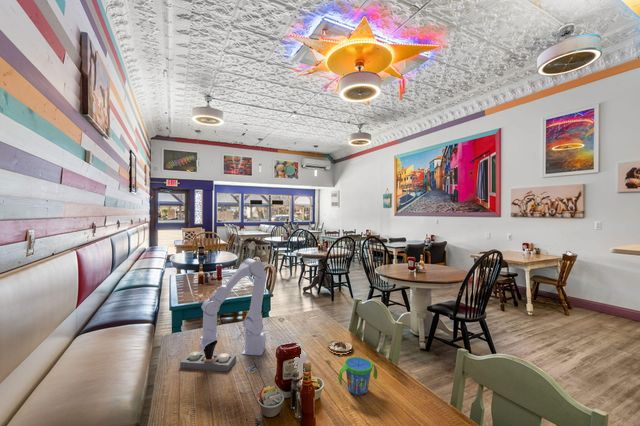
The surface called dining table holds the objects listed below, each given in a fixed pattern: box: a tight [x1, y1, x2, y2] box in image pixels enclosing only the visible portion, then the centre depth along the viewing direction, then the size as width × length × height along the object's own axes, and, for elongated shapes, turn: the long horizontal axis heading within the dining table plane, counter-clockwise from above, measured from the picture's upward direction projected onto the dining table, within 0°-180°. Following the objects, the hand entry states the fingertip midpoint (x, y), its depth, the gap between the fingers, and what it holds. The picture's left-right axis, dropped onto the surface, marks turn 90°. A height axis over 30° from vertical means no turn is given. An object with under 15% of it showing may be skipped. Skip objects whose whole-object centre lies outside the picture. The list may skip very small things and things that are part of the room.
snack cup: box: [337, 356, 378, 396], centre depth 111 cm, size 16×10×10 cm
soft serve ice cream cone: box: [293, 343, 308, 377], centre depth 113 cm, size 8×8×16 cm
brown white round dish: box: [327, 340, 354, 353], centre depth 144 cm, size 15×15×4 cm
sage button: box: [188, 351, 201, 361], centre depth 128 cm, size 4×4×2 cm
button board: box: [179, 351, 237, 372], centre depth 127 cm, size 21×9×2 cm, turn 85°
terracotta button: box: [204, 356, 214, 362], centre depth 127 cm, size 4×4×2 cm
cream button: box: [218, 353, 229, 363], centre depth 126 cm, size 4×4×2 cm
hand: (208, 358), depth 127 cm, fingers closed, pressing on terracotta button
